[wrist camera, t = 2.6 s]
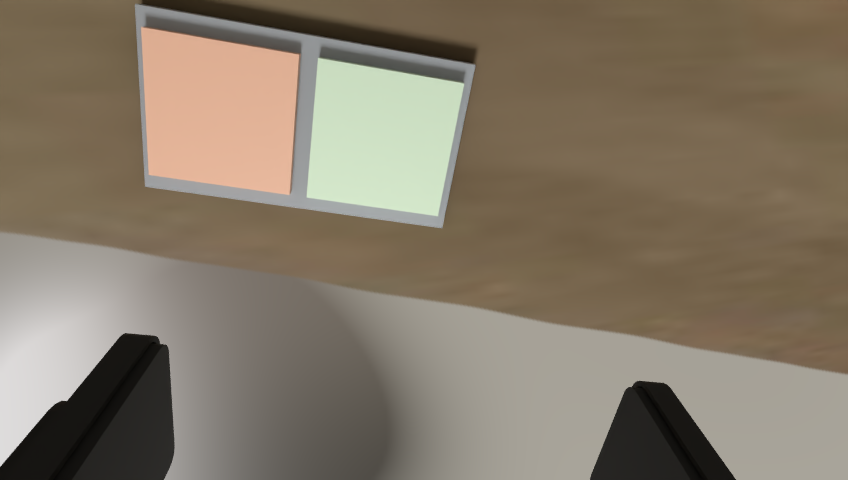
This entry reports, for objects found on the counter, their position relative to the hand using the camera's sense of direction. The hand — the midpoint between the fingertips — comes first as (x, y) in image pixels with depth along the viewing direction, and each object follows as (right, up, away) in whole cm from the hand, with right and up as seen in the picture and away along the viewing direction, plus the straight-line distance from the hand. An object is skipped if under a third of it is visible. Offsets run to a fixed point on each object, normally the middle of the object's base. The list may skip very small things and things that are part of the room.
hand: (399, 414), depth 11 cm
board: (-6, +10, +20) cm, 23 cm away
